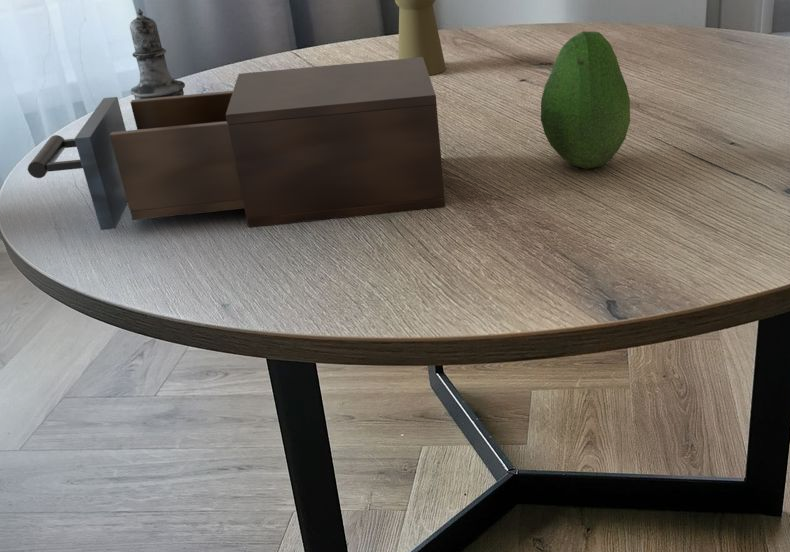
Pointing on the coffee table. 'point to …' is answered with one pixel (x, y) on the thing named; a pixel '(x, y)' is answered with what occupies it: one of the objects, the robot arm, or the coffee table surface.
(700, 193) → the coffee table surface
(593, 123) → the fruit
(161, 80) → the salt shaker
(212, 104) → the drawer
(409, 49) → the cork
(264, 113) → the cabinet
